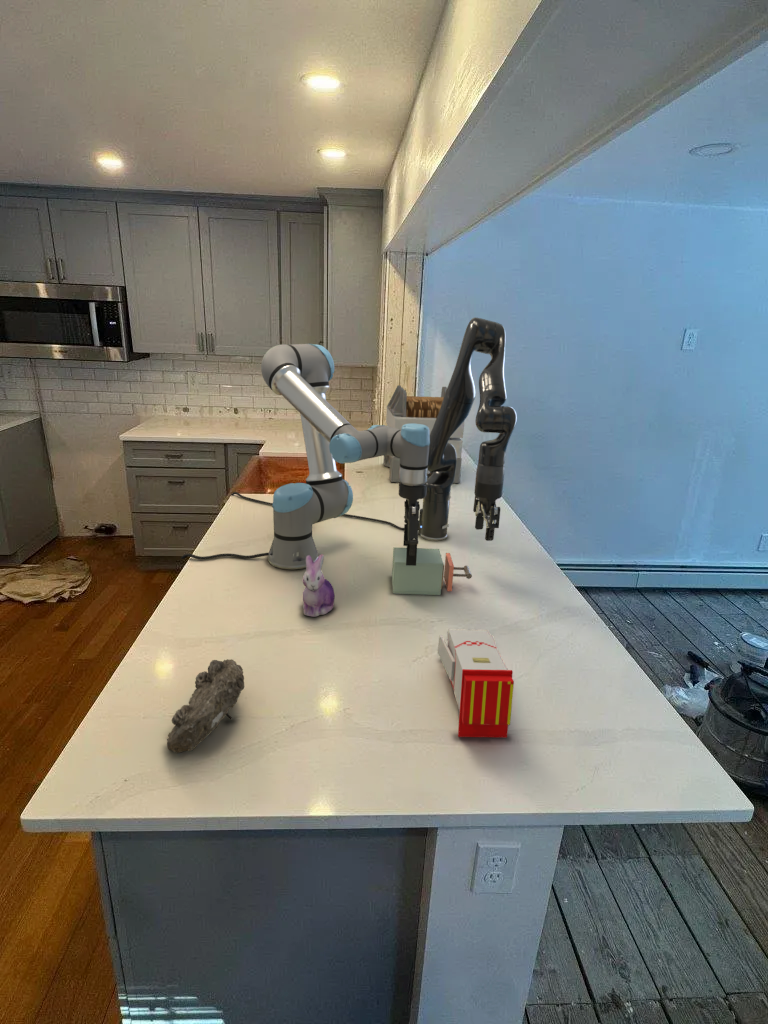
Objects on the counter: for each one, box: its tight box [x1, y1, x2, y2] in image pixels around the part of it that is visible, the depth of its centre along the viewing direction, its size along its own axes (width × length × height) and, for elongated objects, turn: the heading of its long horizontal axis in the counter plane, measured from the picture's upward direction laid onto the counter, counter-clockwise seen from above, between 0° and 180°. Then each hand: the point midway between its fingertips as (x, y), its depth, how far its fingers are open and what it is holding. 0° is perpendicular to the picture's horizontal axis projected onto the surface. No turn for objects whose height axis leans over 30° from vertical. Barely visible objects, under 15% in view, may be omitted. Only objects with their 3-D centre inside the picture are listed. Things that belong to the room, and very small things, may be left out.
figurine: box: [302, 554, 336, 617], centre depth 145 cm, size 9×10×15 cm
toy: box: [437, 628, 515, 738], centre depth 117 cm, size 12×13×30 cm
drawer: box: [441, 552, 473, 592], centre depth 161 cm, size 18×9×8 cm, turn 91°
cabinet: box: [391, 546, 444, 596], centre depth 161 cm, size 13×10×10 cm
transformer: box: [383, 384, 466, 484], centre depth 268 cm, size 34×33×41 cm
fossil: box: [166, 658, 245, 754], centre depth 106 cm, size 22×10×15 cm
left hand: (409, 554), depth 159 cm, fingers open, 13 cm apart
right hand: (483, 534), depth 160 cm, fingers open, 8 cm apart
